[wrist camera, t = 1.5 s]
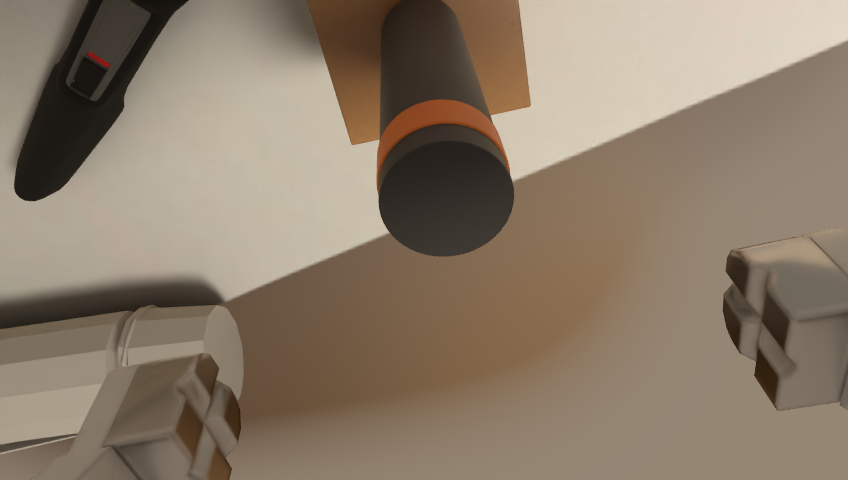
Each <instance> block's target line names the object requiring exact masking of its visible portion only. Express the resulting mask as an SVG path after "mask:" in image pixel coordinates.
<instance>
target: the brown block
mask: <svg viewBox="0 0 848 480" xmlns="http://www.w3.org/2000/svg"><path fill="white" fill-rule="evenodd" d="M401 1H403V0H307V3H308V6H309V9H310V13H311V16H312V19H313V22H314V25H315V29H316V32H317V35H318V38H319V41H320V45H321V48H322V51H323V54H324V57H325V61H326V64H327V67H328V70H329V74H330V77H331V80H332V83H333V86H334V90H335V93H336V96H337V99H338V102H339V106H340V109H341V112H342V115H343V118H344V122H345V125H346V128H347V131H348V134H349V138H350V141H351V144H352V145H356V144H360V143H365V142H370V141H374V140H379V139H380V74H381V31H382V26H383V23H384V20H385V18H386V16H387V15H388V13H389V12H390V10H391V9H392V8H393V7H394V6H395V5H397V4H398V3H399V2H401ZM441 1H442V2H444V3H445V4H447V5H448V6H449V7H450V8H451V9H452V10H453V12H454V13H455V15H456V17H457V18H458V21H459V24H460V27H461V29H462V32H463V35H464V38H465V41H466V44H467V47H468V50H469V53H470V56H471V59H472V62H473V65H474V68H475V71H476V74H477V77H478V80H479V83H480V86H481V89H482V92H483V95H484V98H485V101H486V104H487V107H488V110H489V113H490V115H493V114H498V113H503V112H507V111H512V110H516V109H521V108H525V107H530V106H531V102H530V94H529V86H528V77H527V69H526V61H525V52H524V44H523V36H522V27H521V19H520V10H519V2H518V0H441Z"/></svg>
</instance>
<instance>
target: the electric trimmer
mask: <svg viewBox="0 0 848 480" xmlns="http://www.w3.org/2000/svg"><path fill="white" fill-rule="evenodd" d="M187 1H189V0H88V3H87V5H86V7H85V9H84V12H83V14H82V16H81V18H80V21H79V23H78V25H77V28H76V30H75V32H74V34H73V37H72V39H71V41H70V43H69V46H68V48H67V49H66V51H65V53H64V55H63V56H62V58H61V60H60V62H58V63H57V64H56V65H55V66H54V68H53V69H52V72H51V74H50V76H49V79H48V81H47V83H46V86H45V88H44V91H43V93H42V96H41V98H40V101H39V104H38V106H37V109H36V112H35V115H34V117H33V120H32V123H31V125H30V128H29V131H28V133H27V136H26V139H25V141H24V144H23V147H22V150H21V153H20V156H19V159H18V163H17V168H16V174H15V181H14V189H15V192H16V194H17V195H18V196H19V197H20V198H21V199H23V200H26V201H37V200H40V199H43V198H45V197H47V196H49V195H51V194H52V193H54V192H56V191H58V190H60V189H61V188H62V187H63V186H64V185H65V184H66V183H67V182H68V181H69V180H70V179H71V177H72V176H73V175H74V173H75V172H76V171H77V170H78V168H79V167H80V166H81V165H82V163H83V162H84V161H85V159H86V158H87V157H88V156H89V154H90V153H91V152H92V150H93V149H94V148H95V147H96V145H97V144H98V143H99V142H100V140H101V139H102V138H103V136H104V135H105V134H106V133H107V131H108V130H109V129H110V127H111V126H112V125H113V123H114V122H115V121H116V119H117V118H118V116H119V115H120V113H121V112H122V111H123V108H124V95H125V92H126V89H127V87H128V85H129V83H130V82H131V80H132V78H133V77H134V75H135V73H136V72H137V70H138V68H139V67H140V65H141V63H142V62H143V60H144V58H145V57H146V55H147V53H148V51H149V50H150V48H151V46H152V45H153V43H154V42H155V40H156V39H157V37H158V35H159V34H160V32H161V31H162V29H163V28H164V26H165V25H166V23H167V22H168V20H169V19H170V17H171V16H172V15H173V14H174V12H175V11H177V10H178V9H179V8H180V7H181V6H183V5H184V4H185V3H186V2H187Z"/></svg>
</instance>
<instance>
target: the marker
mask: <svg viewBox="0 0 848 480" xmlns="http://www.w3.org/2000/svg"><path fill="white" fill-rule="evenodd" d="M377 190H378V195H379V210H380V214H381V217H382V220H383V222H384V224H385V226H386V228H387V229H388V231H389V232H390V233H391V234H392V236H393V237H395V238H396V239H397V240H398V241H399V242H400V243H402V244H403V245H404V246H406V247H408V248H410V249H412V250H414V251H416V252H419V253H423V254H426V255H431V256H455V255H460V254H464V253H468V252H470V251H473V250H475V249H477V248H479V247H481V246H483V245H485V244H486V243H488V242H489V241H490V240H491V239H493V238H494V237H495V236H496V235H497V234H498V233H499V232H500V231H501V229H502V228H503V227H504V225H505V224H506V222H507V220H508V218H509V216H510V213H511V211H512V207H513V202H514V187H513V183H512V179H511V176H510V168H509V164H508V160H507V157H506V154H505V151H504V148H503V145H502V142H501V139H500V137H499V134H498V132H497V130H496V128H495V126H494V125H493V122H492V119H491V116H490V113H489V110H488V107H487V104H486V101H485V98H484V95H483V92H482V89H481V86H480V83H479V80H478V77H477V74H476V71H475V68H474V65H473V62H472V59H471V56H470V53H469V50H468V47H467V44H466V41H465V38H464V35H463V32H462V29H461V27H460V24H459V21H458V18H457V17H456V15H455V13H454V12H453V10H452V9H451V8H450V7H449V6H448V5H447V4H445V3H444V2H442V1H441V0H403V1H401V2H399V3H398V4H397V5H395V6H394V7H393V8H392V9H391V10H390V12H389V13H388V15H387V16H386V18H385V20H384V23H383V26H382V31H381V74H380V141H379V147H378V152H377Z"/></svg>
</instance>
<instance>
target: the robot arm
mask: <svg viewBox="0 0 848 480" xmlns="http://www.w3.org/2000/svg"><path fill="white" fill-rule="evenodd" d="M726 272H727V274H728V275H729V277H730V278H731V279H732V281H733V282H734V283H733V284H732V285H731V286H730V287H729V288H728V290H727V291H726V292H725V293H724V301H723V313H724V317H725V322H726V327H727V330H728V332H729V334H730V337H731V339H732V341H733V343H734V345H735V346H736V348H737V349H738V351H739V353H740V354H742V355H744V356H746V357H748V358H750V359H752V360H754V361H756V367H755V375H754V376H755V377H756V379H757V381H758V382H759V383H760V385H761V387H762V388H763V390H764V391H765V393H766V394H767V396H768V397H769V399H770V400H771V402H772V403H773V405H774V406H775V408H776V409H777V411H782V410H789V409H795V408H803V407H809V406H816V405H822V404H830V403H837V402H840V405H841V406H842V407H844V408H845V409H847V410H848V232H847V231H845V230H842V229H839V228H833V229H828V230H824V231H819V232H815V233H810V234H805V235H801V236H800V237H793V238H788V239H783V240H778V241H774V242H768V243H764V244H758V245H753V246H748V247H744V248H738V249H733V250H731V251H730V253H729V255H728V257H727V264H726ZM218 372H219V367H218V365H217V364H216V362H215V361H214V359H213V358H212V356H211V355H210V354H206V353H198V354H192V355H186V356H180V357H174V358H168V359H162V360H156V361H150V362H145V363H144V364H137V365H131V366H125V367H119V368H115V369H114V370H112V371H111V372H110V373H108V374H107V376H106V378H105V380H104V382H103V384H102V386H101V388H100V390H99V392H98V394H97V396H96V398H95V400H94V402H93V404H92V406H91V408H90V410H89V412H88V414H87V416H86V418H85V420H84V422H83V424H82V426H81V428H80V430H79V432H78V434H77V436H76V439H75V440H74V442H73V444H72V446H71V449H70V450H69V452H68V454H66V455H60V456H57V457H56V458H55V459H54V460H53V461H52V462H51V463H50V464H49V465H47V466H46V467H45V468H44V469H43V470H42V471H41V472H39V473H38V474H37V475H36V476H35V477H34V478H33V479H32V480H229V479H230V475H231V470H232V469H231V467H230V465H229V463H228V462H227V460H226V457H227V456H228V455H229V453H230V452H231V451H232V450H233V449H234V448H235V447H236V446H237V444H238V440H239V435H240V430H241V421H240V409H239V405H238V402H237V399H236V396H235V395H234V393H233V391H232V389H231V387H229V386H227V385H225V384H223V383H222V382H220V381H218V380H216V379H217V375H218Z"/></svg>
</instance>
